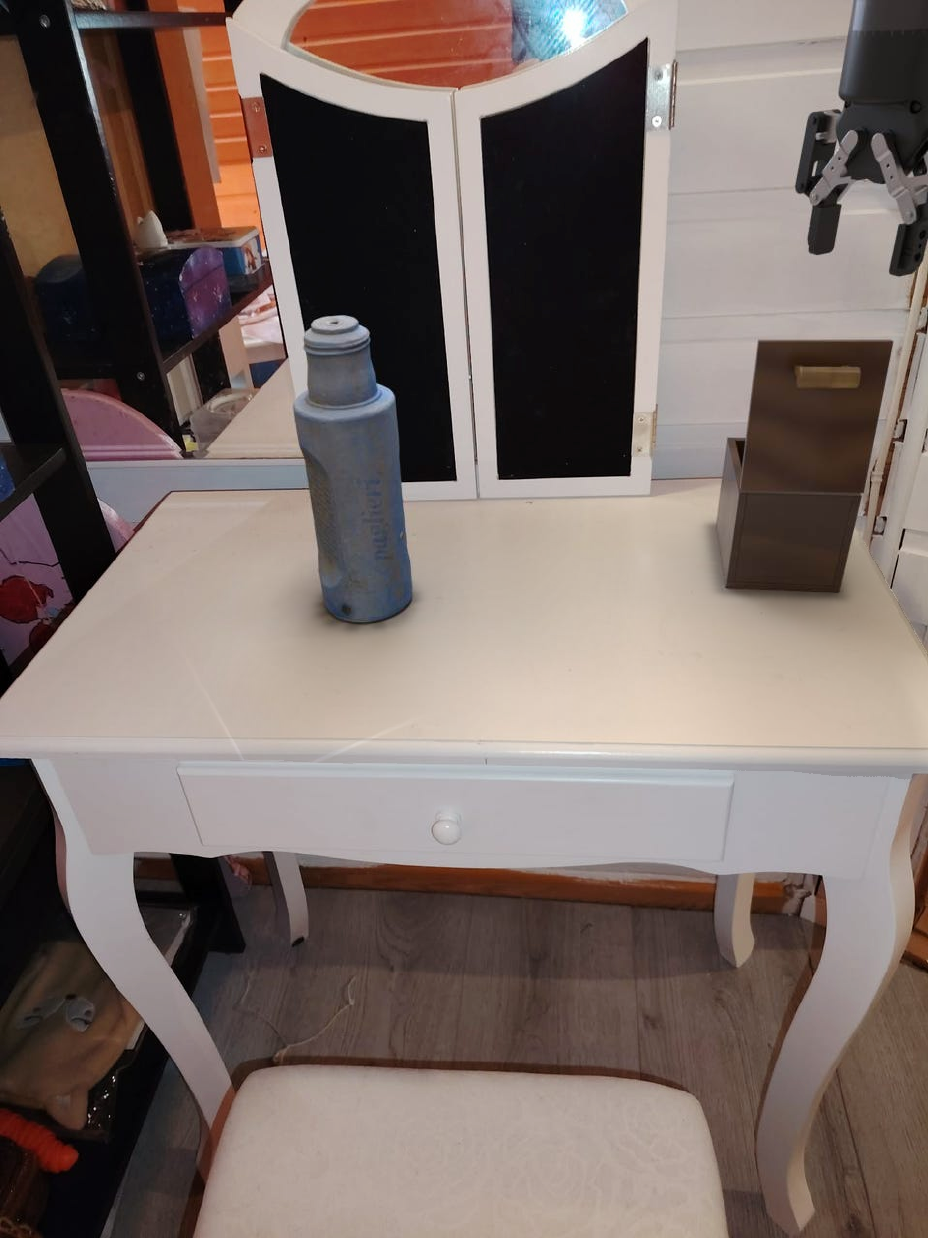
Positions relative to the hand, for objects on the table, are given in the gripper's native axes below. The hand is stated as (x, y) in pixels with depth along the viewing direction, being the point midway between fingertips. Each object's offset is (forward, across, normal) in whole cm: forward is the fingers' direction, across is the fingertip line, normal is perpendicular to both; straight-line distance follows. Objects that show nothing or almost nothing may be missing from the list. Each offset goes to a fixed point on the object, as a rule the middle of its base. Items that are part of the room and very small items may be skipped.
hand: (859, 263), depth 71 cm
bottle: (+34, -24, -38) cm, 56 cm away
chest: (+34, -9, +5) cm, 35 cm away
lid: (+15, -4, +2) cm, 16 cm away
